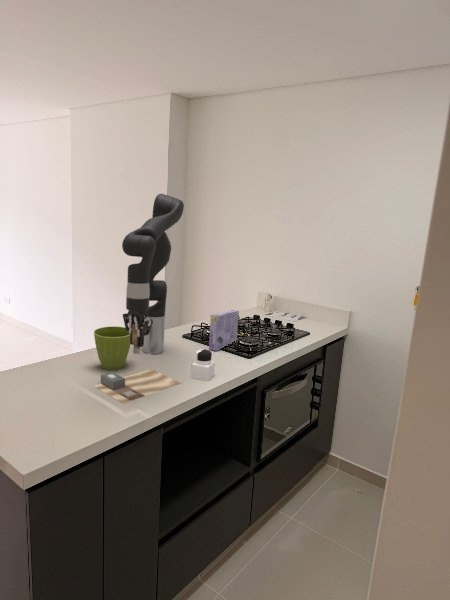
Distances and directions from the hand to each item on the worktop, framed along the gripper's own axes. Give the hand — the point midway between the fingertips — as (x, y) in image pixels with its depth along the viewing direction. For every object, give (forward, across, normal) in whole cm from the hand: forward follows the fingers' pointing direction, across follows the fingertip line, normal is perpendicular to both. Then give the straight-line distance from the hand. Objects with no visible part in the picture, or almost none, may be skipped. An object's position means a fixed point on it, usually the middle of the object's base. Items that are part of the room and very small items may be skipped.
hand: (136, 345), depth 141 cm
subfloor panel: (+19, +5, -5) cm, 20 cm away
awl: (+3, 0, 0) cm, 3 cm away
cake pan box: (+18, +18, -68) cm, 72 cm away
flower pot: (+19, +26, -9) cm, 33 cm away
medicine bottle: (+19, -4, -29) cm, 35 cm away
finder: (+17, +11, +2) cm, 20 cm away
